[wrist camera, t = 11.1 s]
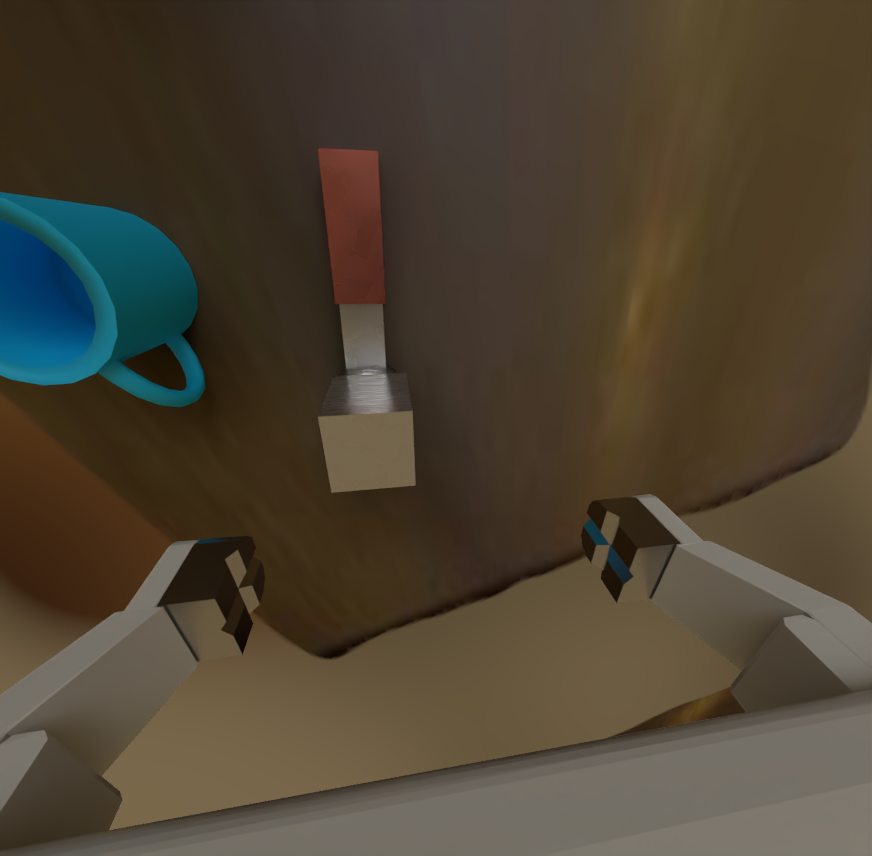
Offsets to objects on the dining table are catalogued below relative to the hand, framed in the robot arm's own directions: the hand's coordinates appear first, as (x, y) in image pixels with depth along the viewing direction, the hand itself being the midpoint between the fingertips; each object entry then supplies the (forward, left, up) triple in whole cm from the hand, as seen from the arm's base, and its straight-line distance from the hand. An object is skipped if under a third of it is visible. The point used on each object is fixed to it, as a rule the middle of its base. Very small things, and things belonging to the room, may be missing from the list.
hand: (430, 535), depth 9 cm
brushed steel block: (+4, -2, -18) cm, 18 cm away
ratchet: (-2, -2, -20) cm, 21 cm away
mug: (-3, -16, -21) cm, 26 cm away
